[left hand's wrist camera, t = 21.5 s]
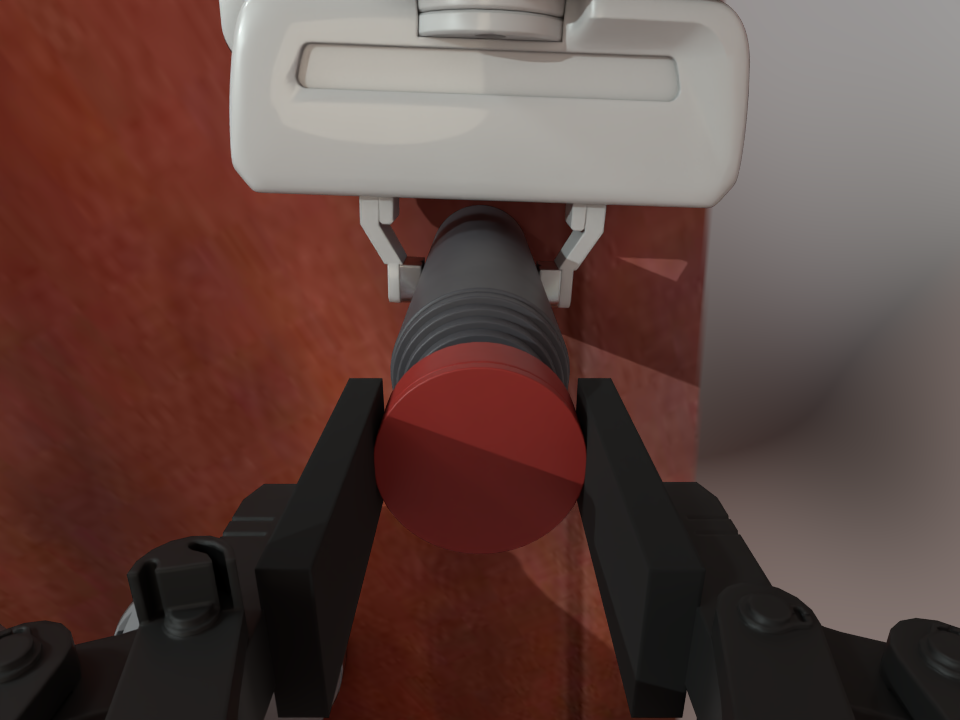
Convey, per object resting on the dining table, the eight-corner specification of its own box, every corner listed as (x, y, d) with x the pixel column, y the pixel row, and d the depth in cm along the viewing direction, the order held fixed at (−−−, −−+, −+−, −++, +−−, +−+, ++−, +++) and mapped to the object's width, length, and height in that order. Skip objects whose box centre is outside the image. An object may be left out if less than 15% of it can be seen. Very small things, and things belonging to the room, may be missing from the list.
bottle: (481, 317, 35) (484, 585, 15) (413, 255, 34) (315, 458, 14) (546, 251, 34) (646, 449, 14) (477, 184, 33) (474, 292, 13)
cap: (432, 307, 14) (426, 330, 12) (612, 391, 14) (627, 423, 13) (353, 469, 15) (340, 508, 14) (520, 538, 16) (525, 582, 14)
